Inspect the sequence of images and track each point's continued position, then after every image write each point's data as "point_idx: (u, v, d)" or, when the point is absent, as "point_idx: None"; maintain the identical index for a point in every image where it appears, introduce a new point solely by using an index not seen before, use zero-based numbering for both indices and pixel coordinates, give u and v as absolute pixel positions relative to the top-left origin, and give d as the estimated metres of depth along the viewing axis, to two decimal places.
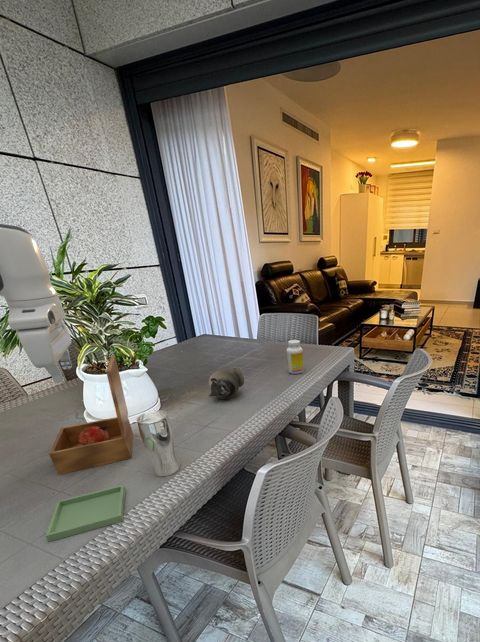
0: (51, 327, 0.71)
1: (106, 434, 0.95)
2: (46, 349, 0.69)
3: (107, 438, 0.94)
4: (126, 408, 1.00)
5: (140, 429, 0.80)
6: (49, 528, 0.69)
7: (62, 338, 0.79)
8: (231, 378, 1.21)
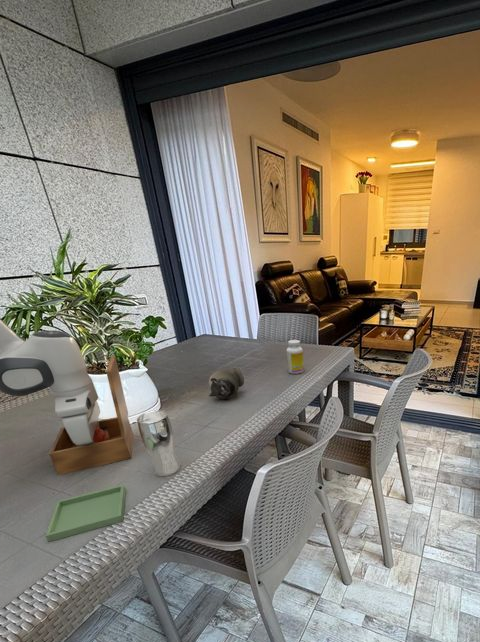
0: (88, 411, 0.86)
1: (106, 434, 0.95)
2: (84, 431, 0.84)
3: (107, 438, 0.94)
4: (126, 408, 1.00)
5: (140, 429, 0.80)
6: (49, 528, 0.69)
7: (94, 413, 0.94)
8: (231, 378, 1.21)
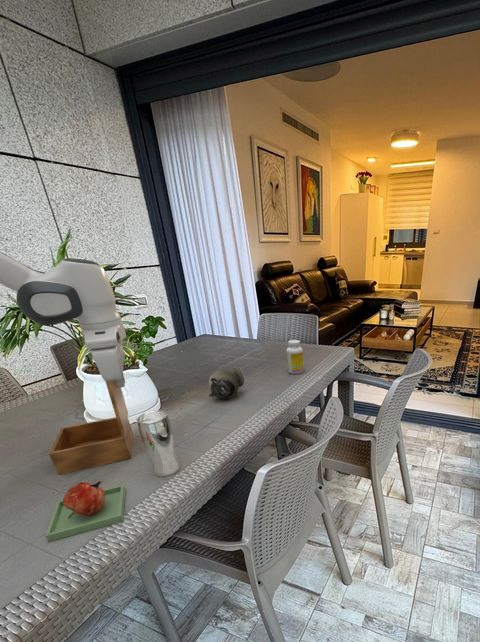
0: (118, 346, 0.82)
1: (99, 493, 0.73)
2: (114, 365, 0.80)
3: (101, 498, 0.73)
4: (126, 408, 1.00)
5: (140, 429, 0.80)
6: (49, 528, 0.69)
7: (121, 354, 0.90)
8: (231, 378, 1.21)
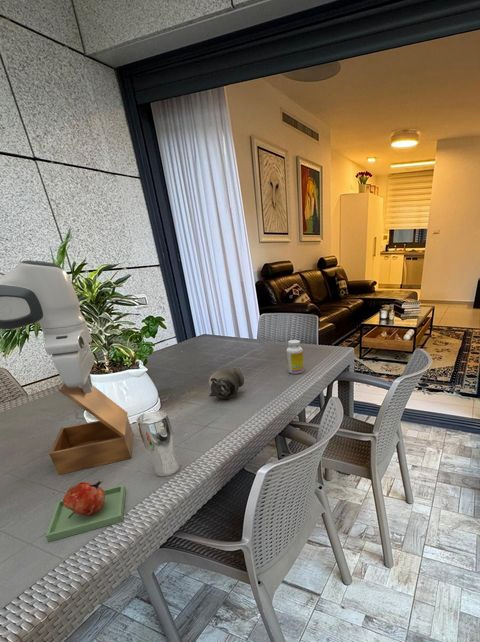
0: (81, 351, 0.80)
1: (99, 493, 0.73)
2: (76, 371, 0.78)
3: (101, 498, 0.73)
4: (121, 409, 1.00)
5: (140, 429, 0.80)
6: (49, 528, 0.69)
7: (88, 358, 0.88)
8: (231, 378, 1.21)
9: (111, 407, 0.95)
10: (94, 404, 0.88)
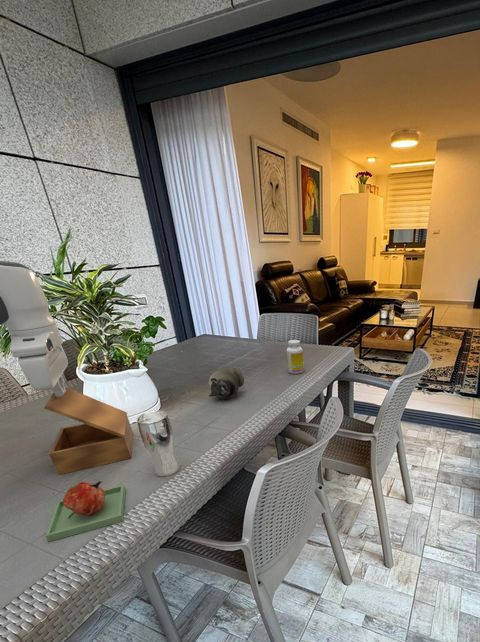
0: (50, 353, 0.77)
1: (99, 493, 0.73)
2: (44, 374, 0.75)
3: (101, 498, 0.73)
4: (119, 411, 1.00)
5: (140, 429, 0.80)
6: (49, 528, 0.69)
7: (59, 361, 0.86)
8: (231, 378, 1.21)
9: (107, 411, 0.95)
10: (86, 412, 0.88)
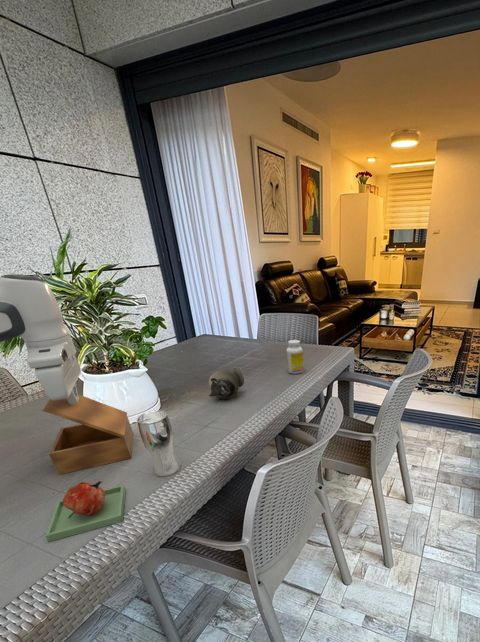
0: (64, 364, 0.79)
1: (99, 493, 0.73)
2: (60, 384, 0.77)
3: (101, 498, 0.73)
4: (119, 411, 1.00)
5: (140, 429, 0.80)
6: (49, 528, 0.69)
7: (73, 370, 0.88)
8: (231, 378, 1.21)
9: (106, 412, 0.95)
10: (85, 414, 0.88)
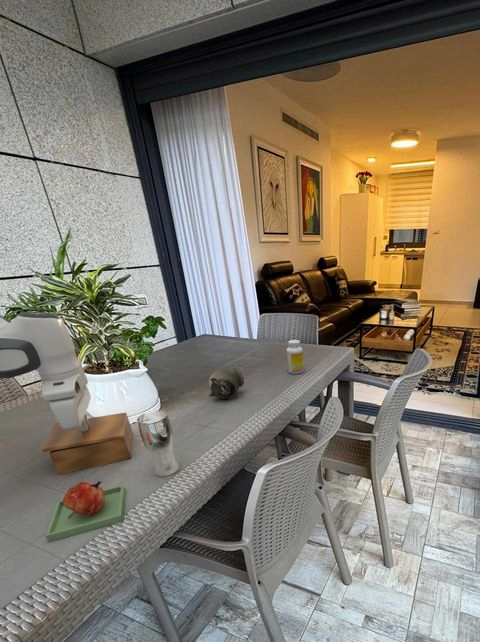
0: (77, 395, 0.83)
1: (99, 493, 0.73)
2: (73, 415, 0.81)
3: (101, 498, 0.73)
4: (117, 415, 1.00)
5: (140, 429, 0.80)
6: (49, 528, 0.69)
7: (84, 398, 0.92)
8: (231, 378, 1.21)
9: (104, 422, 0.96)
10: (83, 434, 0.90)
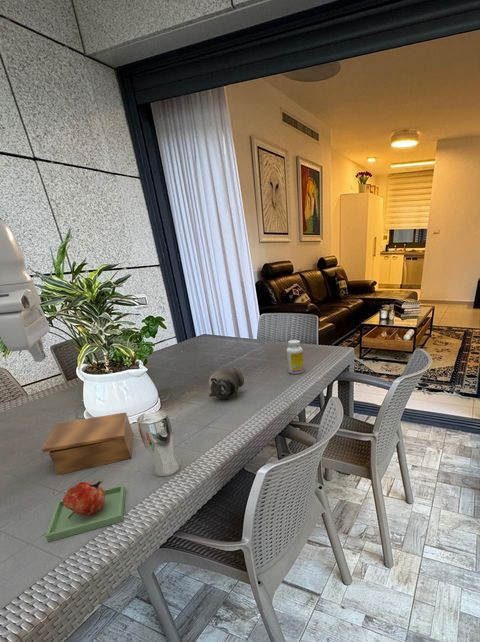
0: (26, 312, 0.73)
1: (99, 493, 0.73)
2: (19, 333, 0.71)
3: (101, 498, 0.73)
4: (117, 415, 1.00)
5: (140, 429, 0.80)
6: (49, 528, 0.69)
7: (39, 324, 0.81)
8: (231, 378, 1.21)
9: (104, 422, 0.96)
10: (83, 434, 0.90)
